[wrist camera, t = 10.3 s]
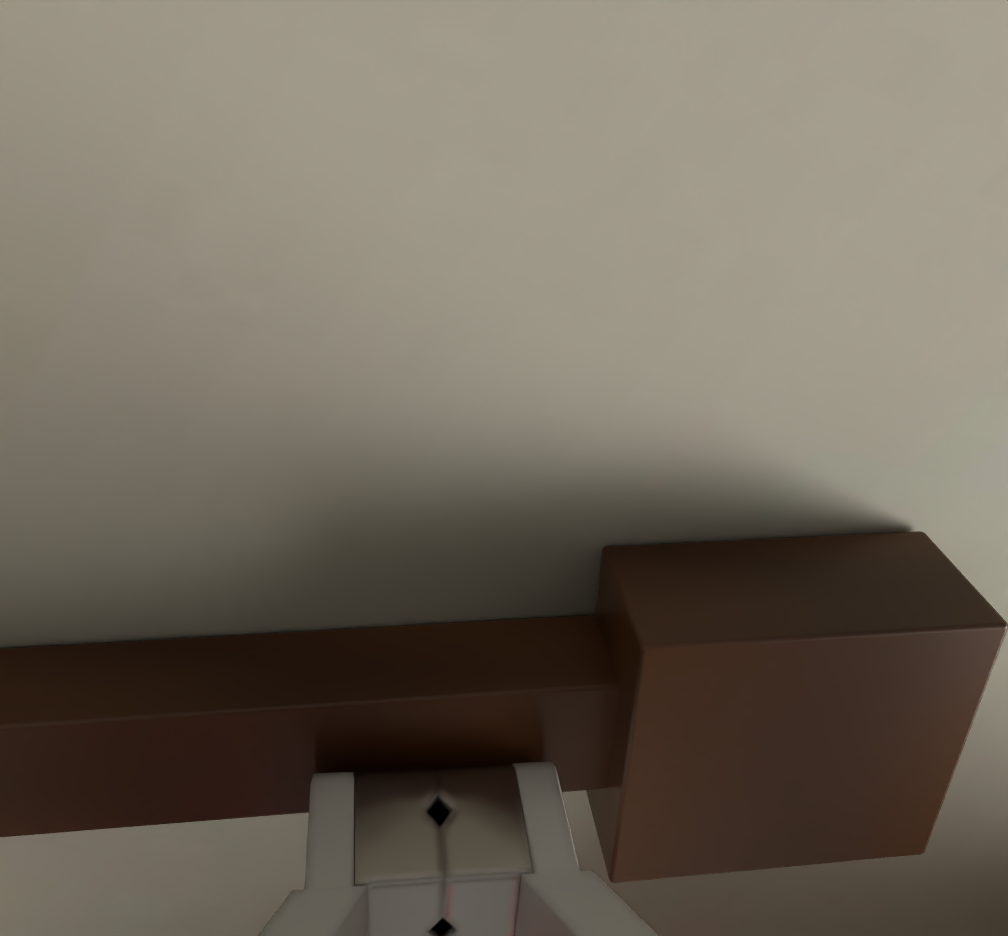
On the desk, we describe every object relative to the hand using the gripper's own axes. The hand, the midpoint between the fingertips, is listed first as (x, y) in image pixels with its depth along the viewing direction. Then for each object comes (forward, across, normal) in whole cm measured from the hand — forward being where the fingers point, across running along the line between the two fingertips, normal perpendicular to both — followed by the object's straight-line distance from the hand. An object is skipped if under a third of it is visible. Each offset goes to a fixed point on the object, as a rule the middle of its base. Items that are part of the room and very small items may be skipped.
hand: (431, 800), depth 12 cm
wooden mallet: (+2, 0, -1) cm, 2 cm away
